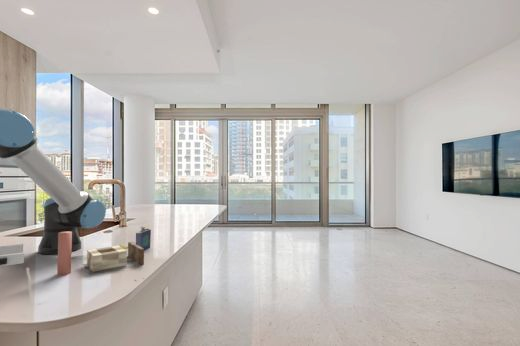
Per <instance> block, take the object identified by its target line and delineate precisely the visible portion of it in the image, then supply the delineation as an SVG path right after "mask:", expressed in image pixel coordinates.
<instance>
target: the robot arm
mask: <svg viewBox="0 0 520 346" xmlns="http://www.w3.org/2000/svg"><path fill="white" fill-rule="evenodd" d="M38 141H39V139H38V137H37V136H36V132H35V126H34V123H32V121H31V120H30V119H29V118H28V117H27V116H26V115H24V114H22V113H20V112H18V111H15V110H11V109H2V108H1V109H0V158H1V159H2V160H10V161H11V162H12V163H14V164H15V166H17V167H18V168H19V169H20V170H21V171H22V172H23V173H24V174H25V175H26V176H28V178H29V179H31V181H32V182H34V183H35V184H36V185H37V186H38V187H39V188H40V189H41V190H42V191H43V192H44V193H46V195H48V197H49V198H46V200H45V201H44V205H43V209H44V211H43V212H44V219H43V235H42V238H41V240H40V243H39V244H38V246H37V253H38V254H40V255H58V233H59V232H66V231H71V232H72V248H71V252H74V251H78V250H80V249H82V240H81V237H80V235H79V232H78V228H82V229H93V228H96V227H99V226H100V224H102V223H103V222H104V220H105V218H106V212H107V208H106V206H105V204H104V202H103V201H101V200H99V199H93V198H92V197H91V196H90V194H89V193H88V192H87V191H83V190H79V189H78V188H77V187H76V185H74V183H73V182H72V181H71V180H70V179H69V178H68V177H67V176H66V175H65V174H64V172H63V171H62V170H60V169H59V167H58V166H57V165H56V164H55V163H54V162H53V161H52V159H50V158H49V156H47V154H46V153H45V152H44V151H43V150H42V149H41V148H40V147H39V146H38ZM24 263H25V252H24V243H19V244H18V243H17V244H10V245H9V244H8V245H1V246H0V267H7V266H11V265H13V266H14V265H19V264H24Z"/></svg>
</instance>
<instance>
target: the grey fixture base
mask: <svg viewBox="0 0 520 346" xmlns="http://www.w3.org/2000/svg"><path fill="white" fill-rule="evenodd" d="M127 245H128V246H127V247H128V248H127V250H128V251H127V258H126V266H121V267H116V268H110V269H105V270H100V271H95V272H93V271H92V270H91V269H90V268H89V266H88V265H87V263H82V266H83V268H85V270H86V271H87V273H88V274H89V275H90V276H93V275H98V274H103V273H108V272H112V271H118V270H123V269H127V268H133V267H137V266H142V265H145V264H144V263H145V250H144V248H142V247H140V246H138V245H137V244H136V242H133V241H129V242H128V244H127Z"/></svg>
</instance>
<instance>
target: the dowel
mask: <svg viewBox="0 0 520 346" xmlns="http://www.w3.org/2000/svg"><path fill="white" fill-rule="evenodd" d="M71 248H72V232H71V231H66V232H59V233H58V254H57V266H56V267H57V268H56V269H57V271H56V273H57V274H56V275H57V276H67V275H70V274H72V251H71Z"/></svg>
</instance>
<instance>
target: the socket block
mask: <svg viewBox="0 0 520 346" xmlns="http://www.w3.org/2000/svg"><path fill="white" fill-rule="evenodd" d="M86 251H87V253H86V264H87V265H88V266H89V268H90V269H91V270H92V271H93V272H95V271H100V270H105V269H110V268H116V267H121V266H126V258H127V256H128V251H127V250H126V249H123V248H122V247H120V245H112V246H106V247H99V248H93V249H87V250H86Z"/></svg>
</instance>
